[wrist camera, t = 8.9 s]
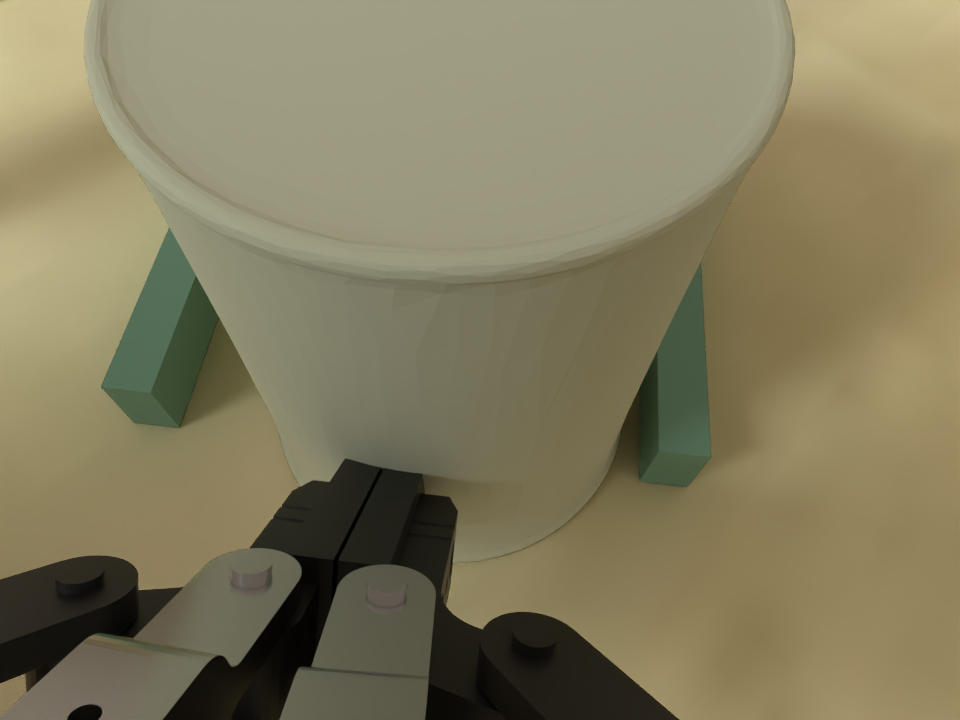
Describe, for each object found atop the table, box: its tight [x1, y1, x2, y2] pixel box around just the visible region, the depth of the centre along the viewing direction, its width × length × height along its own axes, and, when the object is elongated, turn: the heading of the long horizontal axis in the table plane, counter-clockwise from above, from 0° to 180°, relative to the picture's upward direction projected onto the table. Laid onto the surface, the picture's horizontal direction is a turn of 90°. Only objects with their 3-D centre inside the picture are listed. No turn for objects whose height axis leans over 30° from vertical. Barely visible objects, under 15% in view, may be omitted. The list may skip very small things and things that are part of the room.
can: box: [84, 0, 795, 563], centre depth 14 cm, size 9×9×12 cm
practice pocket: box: [101, 227, 711, 487], centre depth 15 cm, size 11×14×15 cm
